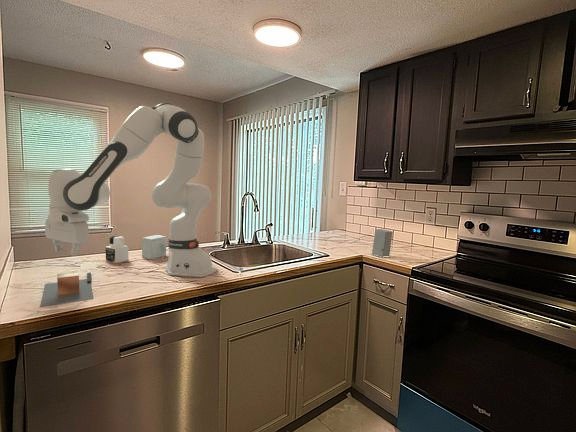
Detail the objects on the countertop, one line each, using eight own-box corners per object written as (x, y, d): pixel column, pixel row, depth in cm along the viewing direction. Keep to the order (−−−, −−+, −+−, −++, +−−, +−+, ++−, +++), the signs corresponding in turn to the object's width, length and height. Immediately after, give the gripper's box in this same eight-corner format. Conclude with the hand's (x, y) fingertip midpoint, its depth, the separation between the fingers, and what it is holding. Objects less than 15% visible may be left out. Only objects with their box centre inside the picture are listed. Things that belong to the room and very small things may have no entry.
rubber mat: (45, 284, 115) (45, 283, 115) (90, 279, 123) (90, 278, 122) (39, 308, 95) (39, 307, 95) (93, 300, 103) (93, 298, 103)
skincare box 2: (371, 255, 187) (373, 228, 185) (379, 253, 191) (381, 228, 189) (382, 258, 180) (385, 231, 178) (390, 257, 184) (393, 230, 182)
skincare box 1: (151, 259, 155) (150, 238, 154) (141, 257, 158) (141, 237, 157) (166, 255, 165) (166, 235, 164) (157, 253, 167) (157, 234, 166)
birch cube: (57, 273, 109) (57, 278, 104) (77, 270, 112) (78, 275, 107) (57, 289, 109) (57, 295, 105) (78, 287, 113) (79, 292, 108)
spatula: (96, 265, 144) (96, 262, 143) (98, 281, 119) (98, 277, 119) (80, 266, 140) (80, 263, 140) (79, 283, 116) (79, 279, 116)
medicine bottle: (105, 261, 149) (104, 236, 148) (119, 258, 155) (119, 234, 154) (114, 263, 146) (114, 238, 144) (128, 260, 152) (128, 236, 151)
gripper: (38, 212, 112) (40, 250, 113) (72, 218, 103) (74, 259, 105) (57, 211, 117) (59, 247, 119) (91, 216, 109) (93, 255, 110)
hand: (66, 253), depth 112 cm, fingers open, 8 cm apart
